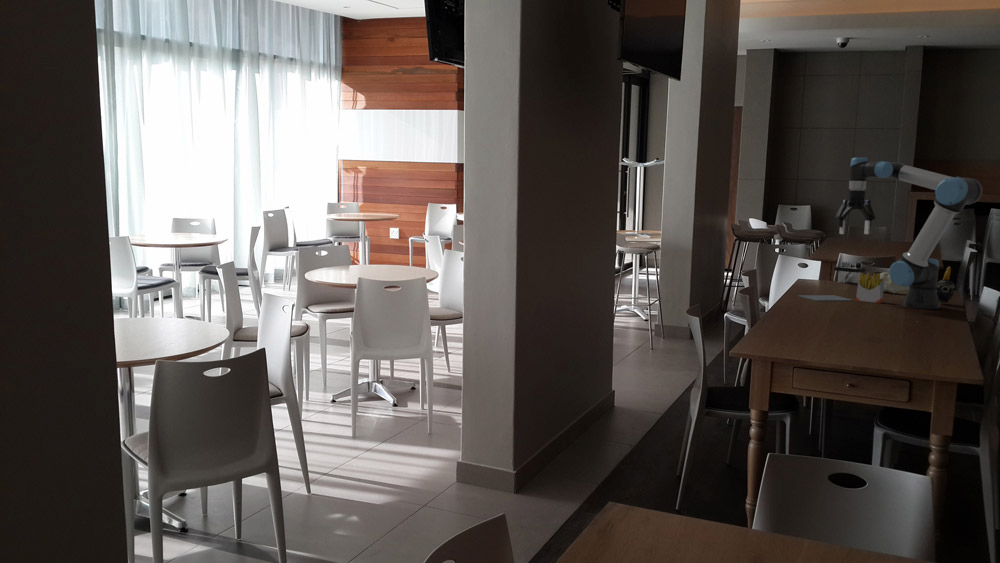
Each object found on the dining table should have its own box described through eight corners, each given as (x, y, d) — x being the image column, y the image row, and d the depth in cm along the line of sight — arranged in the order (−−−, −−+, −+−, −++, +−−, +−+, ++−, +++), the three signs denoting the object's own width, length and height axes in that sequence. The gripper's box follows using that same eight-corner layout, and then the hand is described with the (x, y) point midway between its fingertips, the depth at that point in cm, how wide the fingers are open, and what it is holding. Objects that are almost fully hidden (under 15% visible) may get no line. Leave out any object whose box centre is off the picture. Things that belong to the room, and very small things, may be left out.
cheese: (865, 282, 431) (890, 266, 423) (868, 280, 437) (894, 264, 429) (883, 307, 428) (910, 291, 419) (887, 305, 434) (913, 289, 425)
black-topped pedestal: (812, 284, 461) (813, 260, 460) (839, 281, 477) (840, 258, 475) (859, 290, 439) (861, 265, 437) (886, 287, 454) (888, 263, 453)
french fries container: (878, 312, 393) (881, 274, 391) (855, 310, 401) (857, 272, 399) (882, 311, 397) (884, 273, 395) (858, 309, 404) (860, 272, 402)
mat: (853, 300, 399) (853, 299, 399) (816, 301, 395) (816, 300, 395) (834, 295, 414) (834, 295, 414) (798, 296, 411) (798, 295, 411)
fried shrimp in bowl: (948, 301, 404) (952, 264, 402) (959, 304, 393) (962, 266, 391) (929, 300, 405) (932, 263, 402) (938, 304, 394) (941, 266, 392)
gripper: (874, 190, 409) (871, 233, 411) (829, 189, 403) (826, 233, 406) (885, 190, 401) (881, 234, 404) (838, 189, 396) (835, 234, 399)
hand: (854, 234), depth 405 cm, fingers open, 13 cm apart
